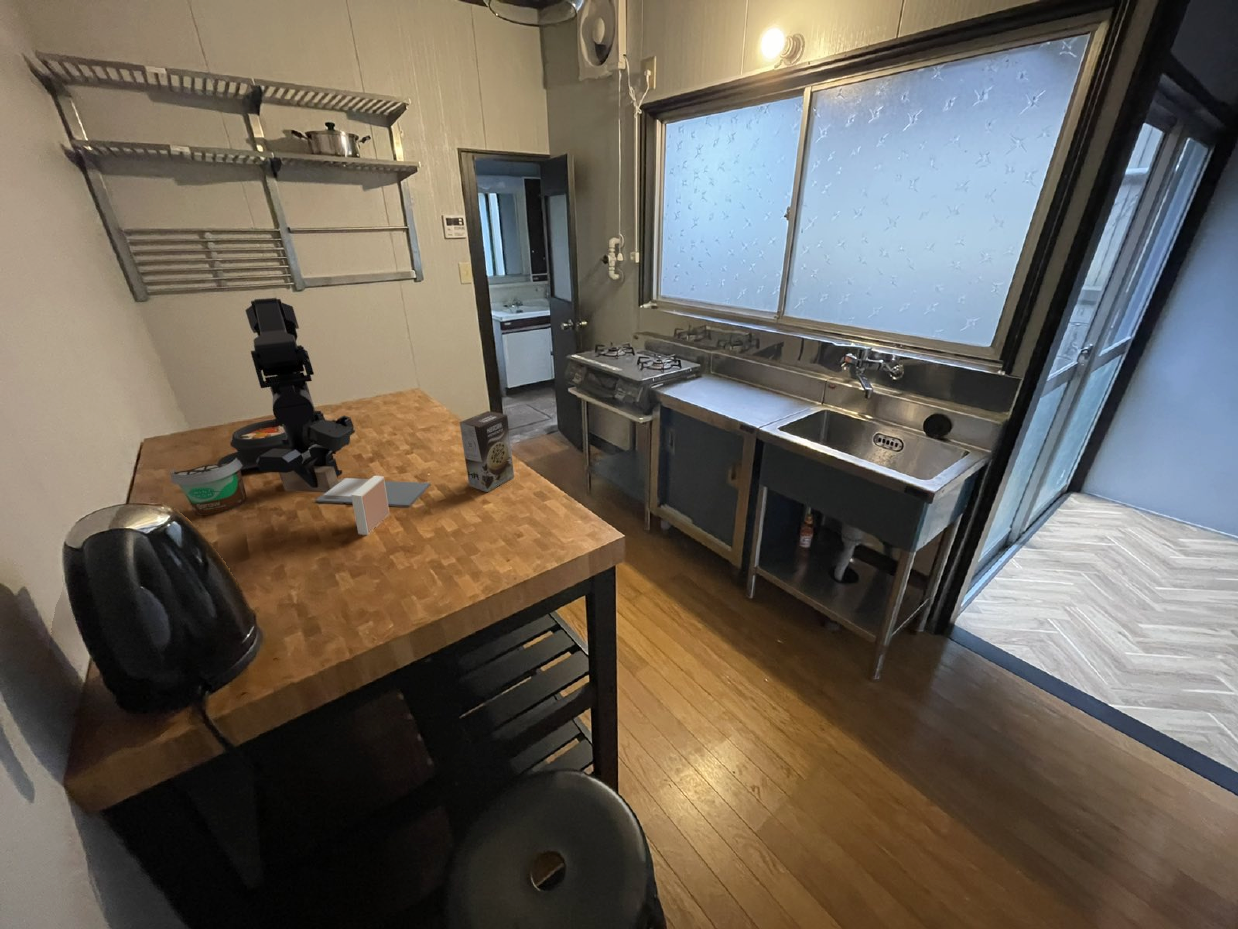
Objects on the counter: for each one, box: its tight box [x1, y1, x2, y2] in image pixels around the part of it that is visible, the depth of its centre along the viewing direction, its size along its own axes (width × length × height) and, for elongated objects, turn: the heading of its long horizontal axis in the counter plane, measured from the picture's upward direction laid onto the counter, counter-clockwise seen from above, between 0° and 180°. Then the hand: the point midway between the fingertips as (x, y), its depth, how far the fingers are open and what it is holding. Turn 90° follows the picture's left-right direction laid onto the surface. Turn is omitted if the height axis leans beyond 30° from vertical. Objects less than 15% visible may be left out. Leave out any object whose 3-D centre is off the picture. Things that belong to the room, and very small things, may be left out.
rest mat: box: [314, 478, 432, 508], centre depth 112 cm, size 22×10×1 cm, turn 84°
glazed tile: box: [351, 475, 390, 536], centre depth 98 cm, size 2×8×9 cm, turn 174°
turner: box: [278, 466, 371, 500], centre depth 97 cm, size 16×7×4 cm, turn 83°
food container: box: [170, 458, 248, 516], centre depth 104 cm, size 12×6×10 cm, turn 117°
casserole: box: [216, 418, 290, 471], centre depth 128 cm, size 25×19×8 cm
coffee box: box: [459, 410, 515, 493], centre depth 113 cm, size 9×6×16 cm
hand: (320, 483), depth 98 cm, fingers closed on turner, 3 cm apart
